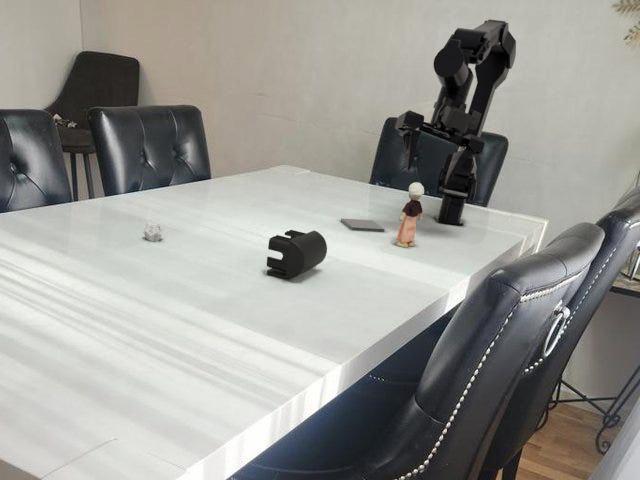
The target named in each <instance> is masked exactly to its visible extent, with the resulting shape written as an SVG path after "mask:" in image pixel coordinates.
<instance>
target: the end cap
mask: <svg viewBox="0 0 640 480" xmlns="http://www.w3.org/2000/svg"><path fill="white" fill-rule="evenodd" d="M267 250H270V251H273V252H277V253H280V254H282V257H281V259H279V258H276V257H272V256H267V257H266V267H268V268H269V269H267V270H266V275H267V276H270V277H273V278H277V279H281V280H284V281H291V280H292V279H294V278H296V277H298V276H300V275H302V274H304V273H306V272H308V271H309V270H312V269H314V268H316V267H317V266H318V265H320V264H322V262H324V260H325V259H326V256H327V253H328V245H327V242H326V239H325V237H324V236H323V235H322V234H321V233H320V232H319V231H316V230H312V231H309V232H303V231H298V230H293V229H290V230H287V231H285V232H284V236H283V235H279V234H276V235H274V236H273V235H272V237H269V240H268V247H267Z"/></svg>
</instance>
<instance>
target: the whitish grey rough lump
mask: <svg viewBox="0 0 640 480" xmlns="http://www.w3.org/2000/svg"><path fill="white" fill-rule="evenodd" d="M163 233H164V229H163V227H162V225H161V224H160V223H159V222H156V221H148V222H147V223H146V225H145V227H144V229H143V236H144V237H145V239H146V240H147V241H149V242H160V239H161V238H162V236H163Z"/></svg>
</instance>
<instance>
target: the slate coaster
mask: <svg viewBox="0 0 640 480" xmlns="http://www.w3.org/2000/svg"><path fill="white" fill-rule="evenodd" d="M340 222H341V223H343V224H344V225H345V226H346V227H348V228H349V229H350V230H351V231H363V232H378V233H379V232H380V233H381V232H382V233H384V232H385V230H386V229H385V228H383V226H381V225H379V224H378V223H377V222H376V221H374V220H373V219H357V218H341V219H340Z"/></svg>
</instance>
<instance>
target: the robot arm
mask: <svg viewBox="0 0 640 480" xmlns="http://www.w3.org/2000/svg"><path fill="white" fill-rule="evenodd" d="M516 55H517V41H516V38H515V37H514V36H513V34H512V33H511V32H510V31H509V22H506V21H505V20H498V19H487V20H484V22H483V23H482V24H480V25H478V26H476V27H474V28H473V29H471V28H463V27H457V28H456V29H455V30H454V32H453V33H452V34H451V35H450V37H449V38H448V40H447V42H446V43H445V45H444V46H443V47H442V48H441V49H440V50H438V52H437V53H436V55H435V56H434V59H433V71H434V72H435V75H436V77H437V79H438V81H439V83H440V85H441V87H440V91H439V93H438V96H437V100H436V101H435V102H434V104H433V112H432V115H431V118H430V122H425V115H424V114H421V113H419V112H416V111H413V110H410V109H409V110H407V111H405V112H404V113H402V114H400V115H399V116H398V117H397V119H396V122H395V125H394V129H395V130H397V131H399V133H398V135H399V136H400V137H402V143H403V147H404V157H405V170H406V172H409V171H411V168H412V165H413V162H414V158H415V153H416V149H417V145H418V142H419V139H420V137H421V135H422V134H425V135H427V136H430V137H433V138H435V139H438V140H439V141H440V140H441V141H443V142H445V143H448V144H451V145H454V146H456V149H455V150H454V151H453V152H452V153H448V155H447V156H446V159H445V162H444V165H443V167H441V169H440V172H439V174H438V180H437V186H436V187H437V188H436V194H437V195H442V199H441V203H440V207H439V212H438V214H434V219H435V220H436V222H438V223H441V224H448V225H449V224H450V225H457V226H464V224H465V223H464V222H463V221H462V220H461V219H462V215H463V211H464V208H465V204H466V201H474V200H475V197H476V192H477V184H478V181H477V169H478V167H477V162H476V157H478V156H481V155H483V154H484V152H485V149H486V146H487V145H486V140H485V138H484V137H483V138H482V137H481V135H482V133H483V129H484V126H485V123H486V120H487V118H488V113H489V111H490V108H491V105H492V101H493V98H494V96H495V93H496V90H497V89H498V88H499V87H500V86H501V85H502V84H503V82H505V81H506V79H507V78H508V75H509V71H510V70H512V69H513V66H514V64H515V62H516V61H515V60H516ZM469 65H475V66H474V73H475V77H474V73H473V71H472V68H471V67H469ZM474 78H476V86H475V90H474V92H473V95H472V99H471V102H470V105H469V108H468V112H466V111H467V107H468V104H467V103H466V102H467V100H468V96H469V93H470V89H471V87H472V84H473V80H474ZM457 133H458V134H457ZM459 133H461V134H460V135H459Z"/></svg>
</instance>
